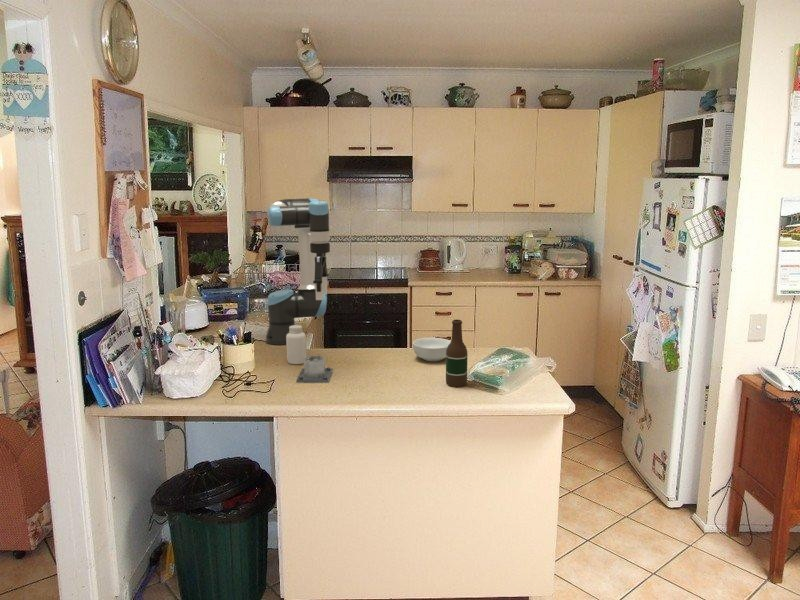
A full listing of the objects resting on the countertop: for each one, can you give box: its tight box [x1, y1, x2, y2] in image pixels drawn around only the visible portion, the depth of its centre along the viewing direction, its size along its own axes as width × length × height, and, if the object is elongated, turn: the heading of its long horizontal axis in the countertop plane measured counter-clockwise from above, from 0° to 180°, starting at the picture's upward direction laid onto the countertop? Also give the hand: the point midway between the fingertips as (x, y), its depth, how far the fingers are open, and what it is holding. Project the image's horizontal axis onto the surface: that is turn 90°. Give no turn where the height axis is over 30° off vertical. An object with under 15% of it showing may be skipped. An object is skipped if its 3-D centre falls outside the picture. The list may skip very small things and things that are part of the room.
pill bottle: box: [286, 324, 308, 365], centre depth 259 cm, size 8×8×15 cm
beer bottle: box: [445, 319, 468, 388], centre depth 229 cm, size 8×8×24 cm
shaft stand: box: [296, 366, 334, 384], centre depth 241 cm, size 14×12×6 cm
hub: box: [303, 355, 326, 377], centre depth 241 cm, size 8×8×6 cm
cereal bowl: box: [412, 337, 451, 362], centre depth 262 cm, size 17×17×7 cm
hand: (321, 296), depth 248 cm, fingers open, 13 cm apart
